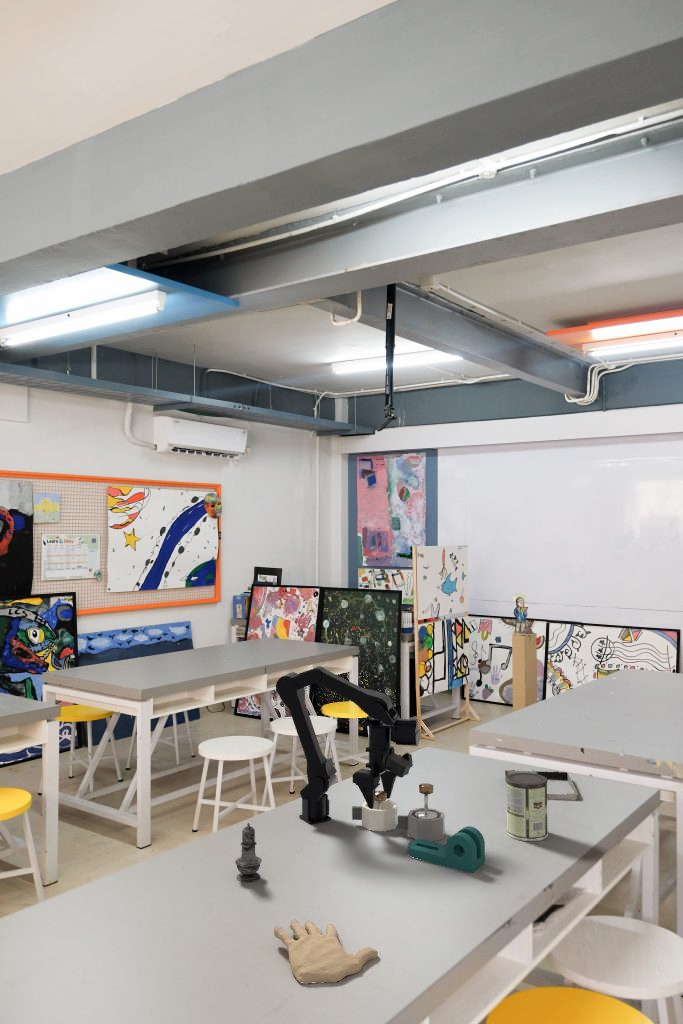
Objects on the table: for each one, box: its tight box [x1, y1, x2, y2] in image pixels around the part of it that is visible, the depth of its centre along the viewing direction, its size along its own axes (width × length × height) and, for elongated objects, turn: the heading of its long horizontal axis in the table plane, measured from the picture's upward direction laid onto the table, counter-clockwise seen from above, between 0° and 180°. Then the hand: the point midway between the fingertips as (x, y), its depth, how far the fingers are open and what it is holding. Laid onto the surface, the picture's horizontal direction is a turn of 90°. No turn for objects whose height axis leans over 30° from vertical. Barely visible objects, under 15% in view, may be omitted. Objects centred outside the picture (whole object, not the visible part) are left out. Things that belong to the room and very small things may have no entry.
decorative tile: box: [504, 769, 579, 801], centre depth 246 cm, size 20×3×20 cm
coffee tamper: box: [415, 782, 437, 820], centre depth 209 cm, size 6×6×8 cm
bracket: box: [407, 825, 486, 874], centre depth 193 cm, size 18×7×8 cm, turn 56°
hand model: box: [273, 918, 379, 984], centre depth 151 cm, size 19×5×20 cm
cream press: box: [351, 799, 399, 832], centre depth 215 cm, size 11×9×5 cm
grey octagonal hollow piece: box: [397, 807, 446, 842], centre depth 208 cm, size 11×9×5 cm
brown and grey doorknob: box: [375, 790, 388, 810], centre depth 216 cm, size 6×6×8 cm
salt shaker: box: [234, 822, 263, 883], centre depth 184 cm, size 6×6×12 cm
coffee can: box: [505, 773, 549, 842], centre depth 209 cm, size 10×10×14 cm
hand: (379, 803), depth 216 cm, fingers open, 9 cm apart
